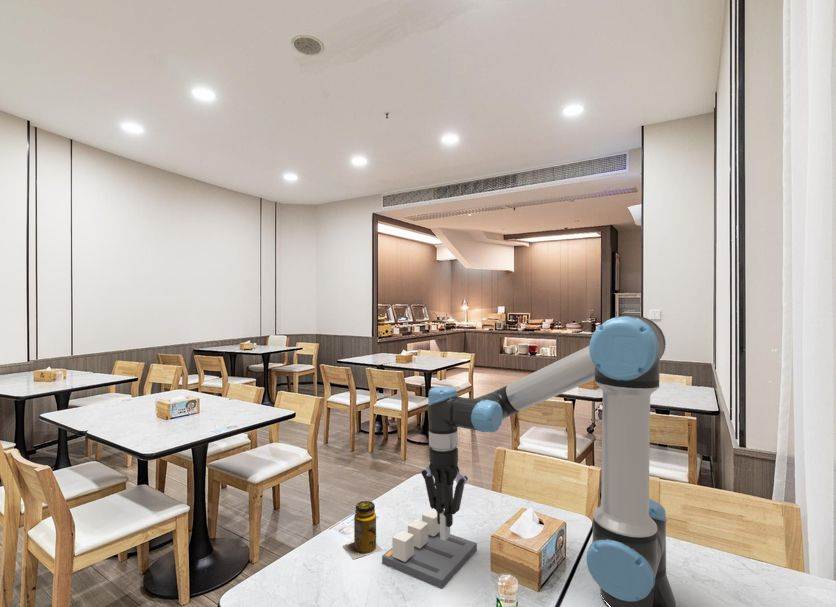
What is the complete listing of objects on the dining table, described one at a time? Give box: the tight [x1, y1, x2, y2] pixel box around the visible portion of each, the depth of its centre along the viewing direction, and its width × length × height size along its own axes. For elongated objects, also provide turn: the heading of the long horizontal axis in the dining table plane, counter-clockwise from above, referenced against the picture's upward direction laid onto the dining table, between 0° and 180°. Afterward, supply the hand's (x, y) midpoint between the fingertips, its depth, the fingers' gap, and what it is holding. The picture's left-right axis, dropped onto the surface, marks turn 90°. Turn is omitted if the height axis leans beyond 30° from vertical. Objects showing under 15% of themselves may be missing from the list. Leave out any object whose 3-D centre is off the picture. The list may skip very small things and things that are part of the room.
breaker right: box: [421, 508, 440, 536], centre depth 121 cm, size 4×4×5 cm
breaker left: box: [391, 530, 414, 562], centre depth 110 cm, size 4×4×5 cm
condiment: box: [342, 500, 382, 560], centre depth 117 cm, size 7×8×12 cm
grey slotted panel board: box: [381, 532, 478, 590], centre depth 113 cm, size 18×19×2 cm
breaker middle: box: [407, 519, 428, 548], centre depth 116 cm, size 4×4×5 cm
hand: (445, 537), depth 111 cm, fingers closed
